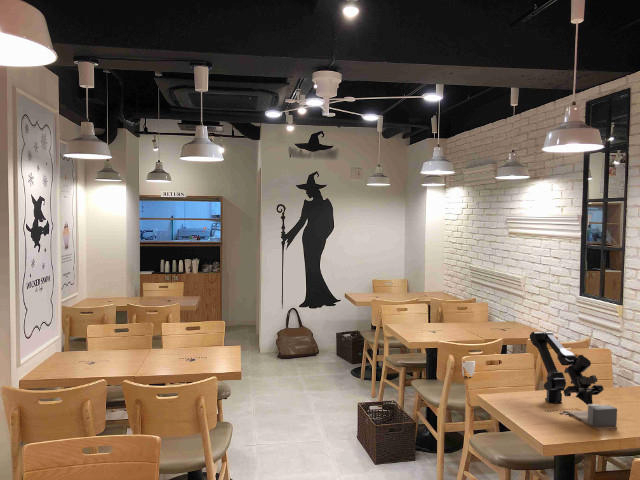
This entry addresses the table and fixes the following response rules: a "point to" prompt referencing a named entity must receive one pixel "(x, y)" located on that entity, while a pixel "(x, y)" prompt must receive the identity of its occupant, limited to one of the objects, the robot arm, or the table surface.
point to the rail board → (583, 418)
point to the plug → (591, 405)
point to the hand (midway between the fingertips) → (591, 407)
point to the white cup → (468, 367)
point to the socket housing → (602, 415)
